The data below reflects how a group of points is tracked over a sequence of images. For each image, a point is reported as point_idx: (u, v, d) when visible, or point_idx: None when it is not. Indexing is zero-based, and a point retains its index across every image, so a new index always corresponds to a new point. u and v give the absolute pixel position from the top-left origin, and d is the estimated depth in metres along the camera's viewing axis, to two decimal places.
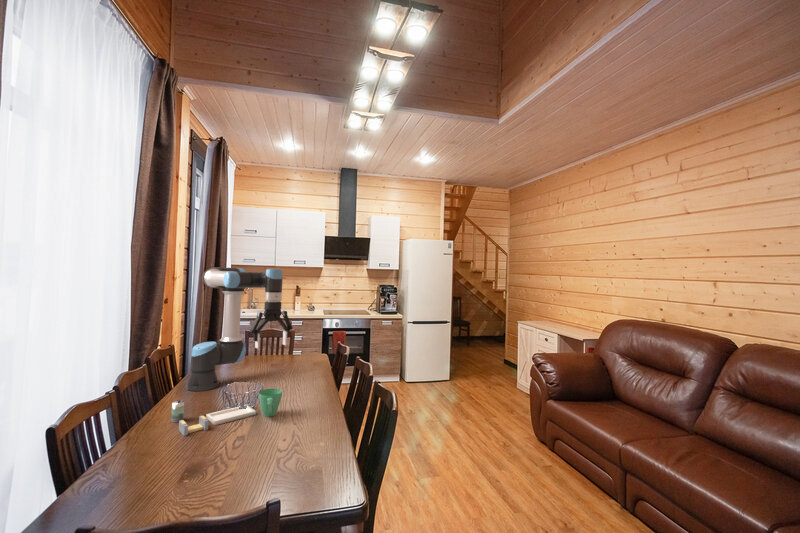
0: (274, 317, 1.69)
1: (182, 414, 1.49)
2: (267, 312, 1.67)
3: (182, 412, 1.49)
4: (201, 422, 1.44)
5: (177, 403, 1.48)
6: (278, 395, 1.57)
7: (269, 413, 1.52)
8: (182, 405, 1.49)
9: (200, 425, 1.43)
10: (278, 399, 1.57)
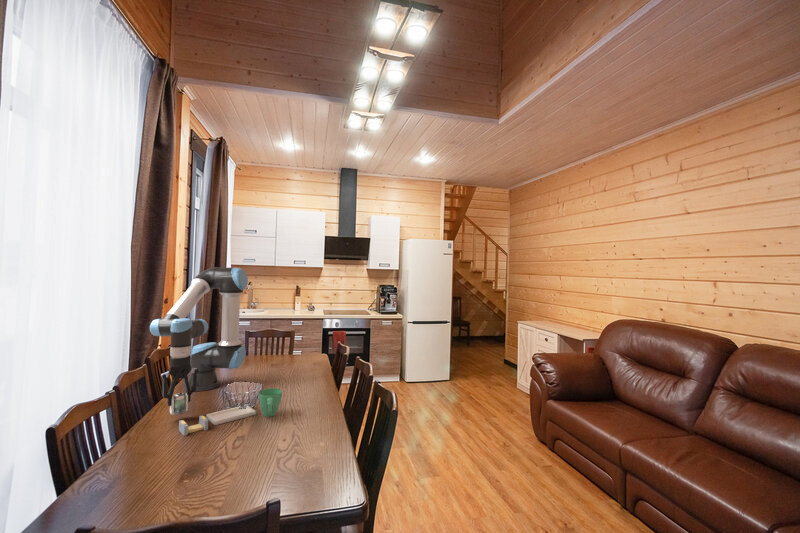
0: (181, 374, 1.50)
1: (183, 406, 1.50)
2: (171, 370, 1.47)
3: (183, 404, 1.50)
4: (201, 422, 1.44)
5: (178, 395, 1.49)
6: (278, 395, 1.57)
7: (269, 413, 1.52)
8: (183, 397, 1.50)
9: (200, 425, 1.43)
10: (278, 399, 1.57)
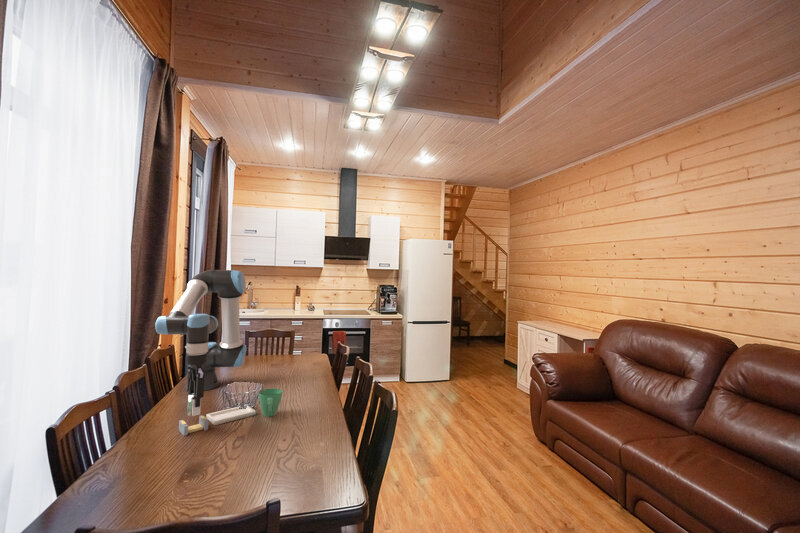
0: None
1: (190, 409, 1.39)
2: (190, 365, 1.43)
3: (190, 406, 1.39)
4: (201, 422, 1.44)
5: (190, 394, 1.41)
6: (278, 395, 1.57)
7: (269, 413, 1.52)
8: (190, 399, 1.39)
9: (200, 425, 1.43)
10: (278, 399, 1.57)
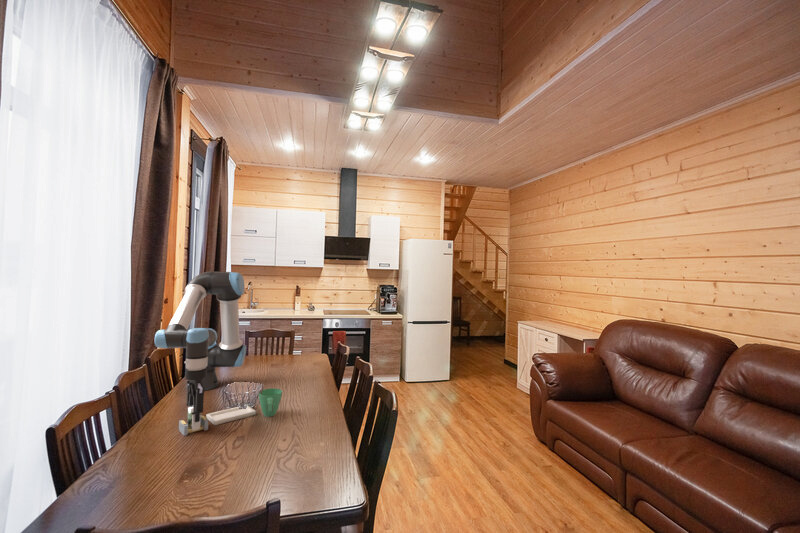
0: None
1: (190, 421, 1.39)
2: (190, 379, 1.43)
3: (190, 418, 1.39)
4: (201, 422, 1.44)
5: (190, 406, 1.41)
6: (278, 395, 1.57)
7: (269, 413, 1.52)
8: (190, 411, 1.39)
9: (200, 425, 1.43)
10: (278, 399, 1.57)
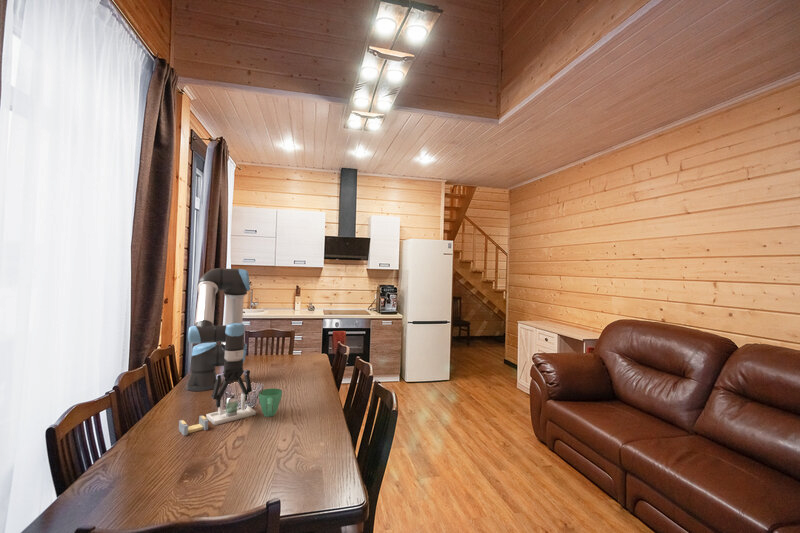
0: (235, 377, 1.55)
1: (236, 409, 1.55)
2: (226, 372, 1.53)
3: (236, 407, 1.55)
4: (201, 422, 1.44)
5: (231, 398, 1.54)
6: (278, 395, 1.57)
7: (269, 413, 1.52)
8: (236, 400, 1.55)
9: (200, 425, 1.43)
10: (278, 399, 1.57)
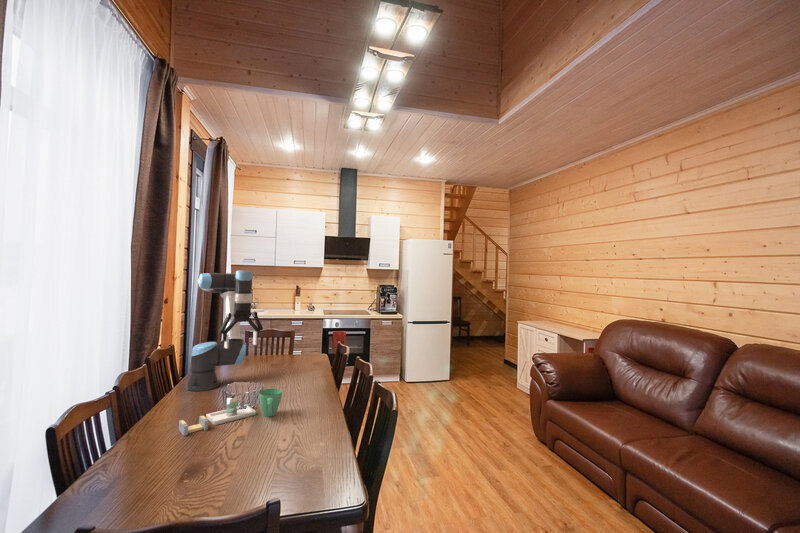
0: (244, 318, 1.73)
1: (236, 409, 1.55)
2: (236, 313, 1.71)
3: (236, 407, 1.55)
4: (201, 422, 1.44)
5: (232, 398, 1.54)
6: (278, 395, 1.57)
7: (269, 413, 1.52)
8: (236, 400, 1.55)
9: (200, 425, 1.43)
10: (278, 399, 1.57)
